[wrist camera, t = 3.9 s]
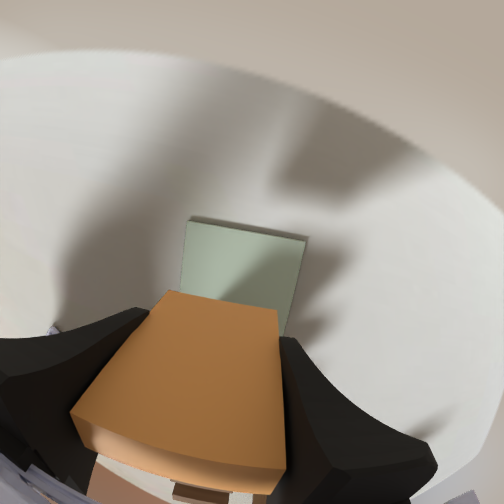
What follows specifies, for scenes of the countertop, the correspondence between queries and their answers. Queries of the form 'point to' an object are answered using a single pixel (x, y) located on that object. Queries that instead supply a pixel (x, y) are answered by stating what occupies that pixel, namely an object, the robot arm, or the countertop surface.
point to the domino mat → (241, 267)
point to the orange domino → (193, 396)
